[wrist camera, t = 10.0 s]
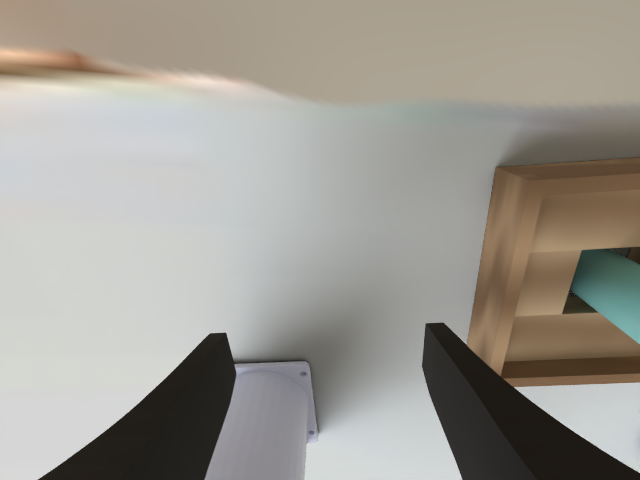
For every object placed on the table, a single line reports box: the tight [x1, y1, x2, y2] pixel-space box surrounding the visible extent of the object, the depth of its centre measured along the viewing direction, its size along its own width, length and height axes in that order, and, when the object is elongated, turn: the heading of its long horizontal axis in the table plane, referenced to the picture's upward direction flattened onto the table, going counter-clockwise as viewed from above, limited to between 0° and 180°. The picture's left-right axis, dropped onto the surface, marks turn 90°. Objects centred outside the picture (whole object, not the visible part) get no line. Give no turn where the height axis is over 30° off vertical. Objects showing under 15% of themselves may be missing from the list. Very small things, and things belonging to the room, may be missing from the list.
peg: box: [569, 248, 640, 344], centre depth 17 cm, size 3×3×6 cm
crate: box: [467, 157, 640, 387], centre depth 19 cm, size 14×14×3 cm
